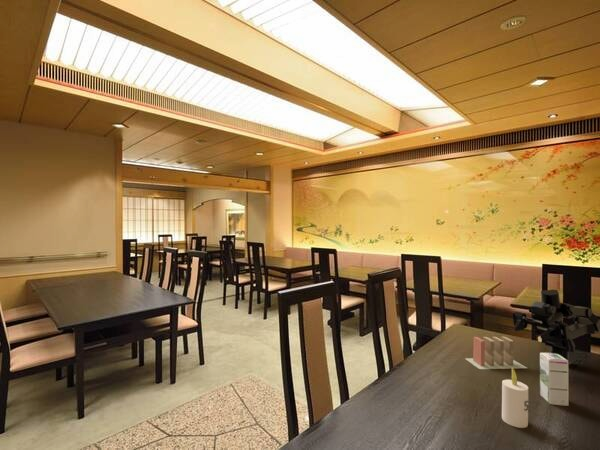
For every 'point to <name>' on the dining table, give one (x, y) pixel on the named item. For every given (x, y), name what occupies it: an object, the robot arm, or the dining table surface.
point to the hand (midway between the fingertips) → (527, 333)
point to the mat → (496, 365)
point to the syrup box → (554, 378)
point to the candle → (515, 402)
